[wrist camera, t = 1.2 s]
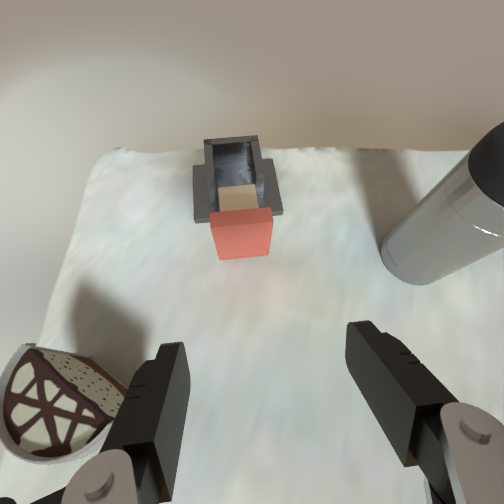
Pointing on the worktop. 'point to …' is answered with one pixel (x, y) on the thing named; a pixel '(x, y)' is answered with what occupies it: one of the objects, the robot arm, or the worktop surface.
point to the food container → (56, 405)
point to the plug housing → (233, 175)
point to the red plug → (241, 224)
